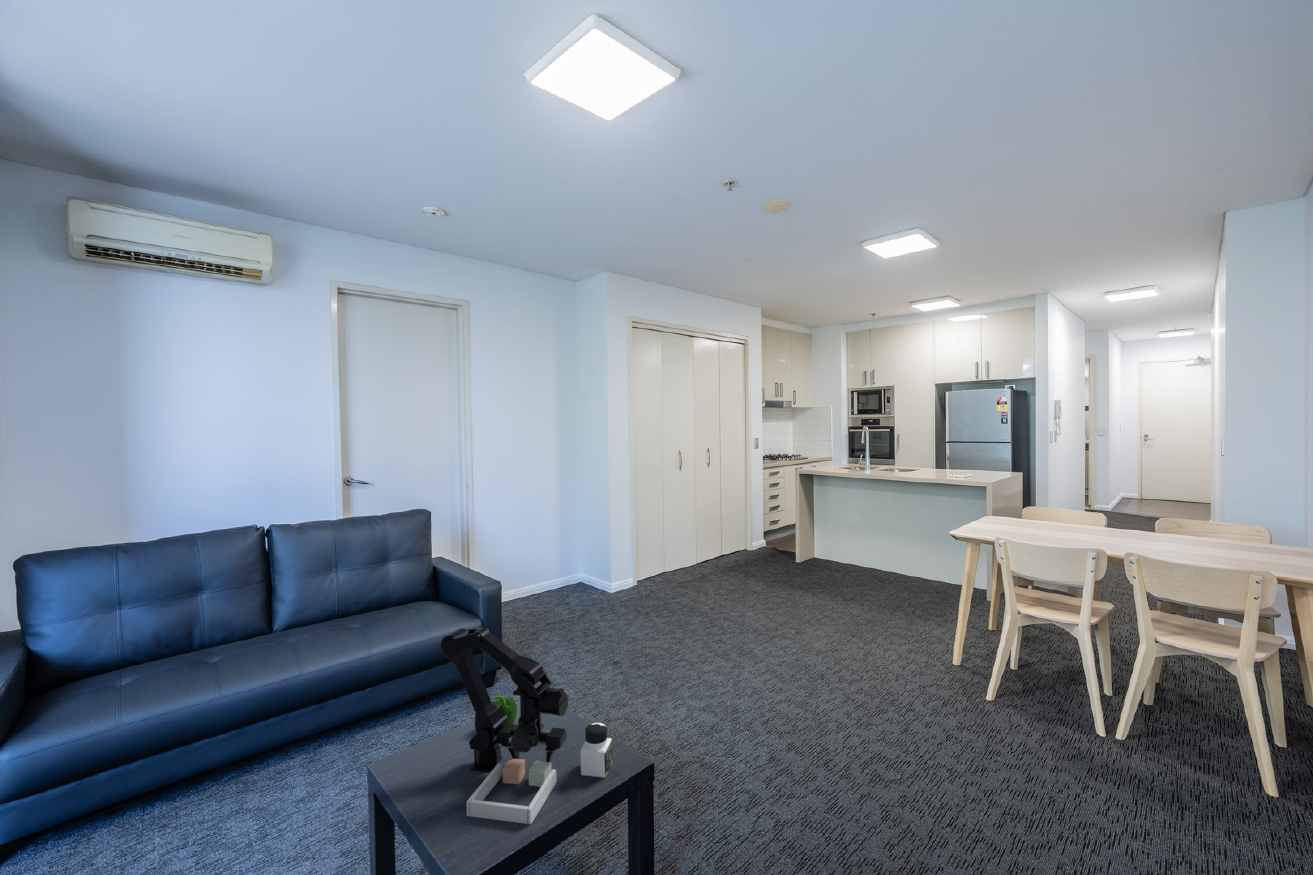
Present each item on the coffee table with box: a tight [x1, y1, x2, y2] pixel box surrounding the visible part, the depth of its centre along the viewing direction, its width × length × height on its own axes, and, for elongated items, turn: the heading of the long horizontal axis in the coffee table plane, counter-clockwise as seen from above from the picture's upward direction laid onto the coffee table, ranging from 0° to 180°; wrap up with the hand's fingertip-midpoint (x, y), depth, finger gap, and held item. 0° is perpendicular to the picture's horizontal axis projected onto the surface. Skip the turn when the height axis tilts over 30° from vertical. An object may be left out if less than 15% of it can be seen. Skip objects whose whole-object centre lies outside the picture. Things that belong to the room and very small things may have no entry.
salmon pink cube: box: [502, 758, 526, 785], centre depth 148 cm, size 4×4×4 cm
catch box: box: [466, 762, 557, 825], centre depth 140 cm, size 17×16×4 cm
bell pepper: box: [491, 695, 518, 724], centre depth 176 cm, size 8×8×10 cm
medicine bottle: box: [579, 722, 613, 779], centre depth 151 cm, size 7×7×12 cm
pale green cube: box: [528, 760, 552, 788], centre depth 147 cm, size 4×4×4 cm
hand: (532, 766), depth 151 cm, fingers open, 9 cm apart
